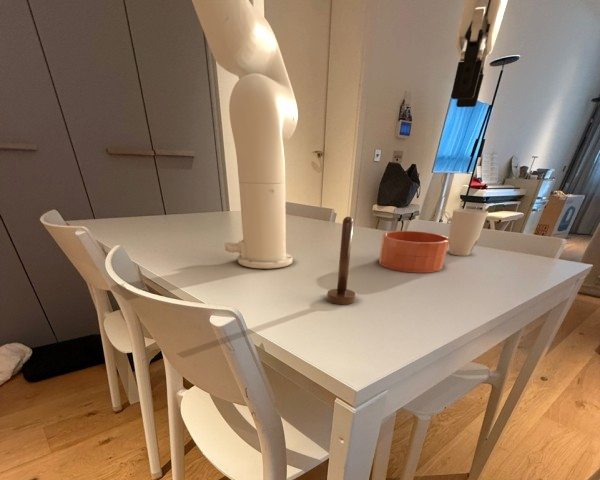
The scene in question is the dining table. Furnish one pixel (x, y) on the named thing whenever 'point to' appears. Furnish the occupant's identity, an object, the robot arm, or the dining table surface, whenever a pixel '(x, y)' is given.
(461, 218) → the cup
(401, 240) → the bowl
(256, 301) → the dining table surface
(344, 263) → the brown peg stand
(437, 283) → the dining table surface
